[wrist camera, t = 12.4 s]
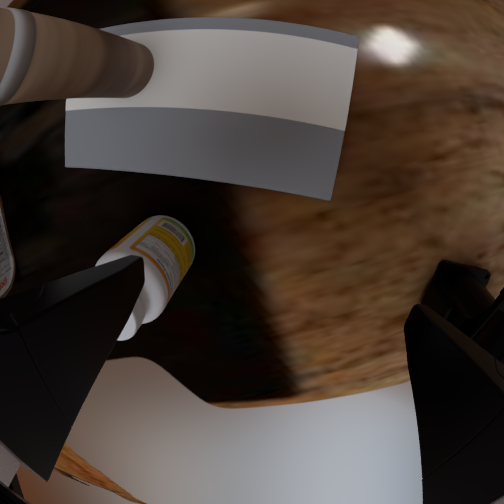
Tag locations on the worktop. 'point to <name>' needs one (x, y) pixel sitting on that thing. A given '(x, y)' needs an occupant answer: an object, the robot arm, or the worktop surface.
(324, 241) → the worktop surface
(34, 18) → the beige tapered cylinder
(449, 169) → the worktop surface
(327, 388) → the worktop surface
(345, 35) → the slate-grey panel
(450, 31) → the worktop surface
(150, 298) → the supplement bottle
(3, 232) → the tin
